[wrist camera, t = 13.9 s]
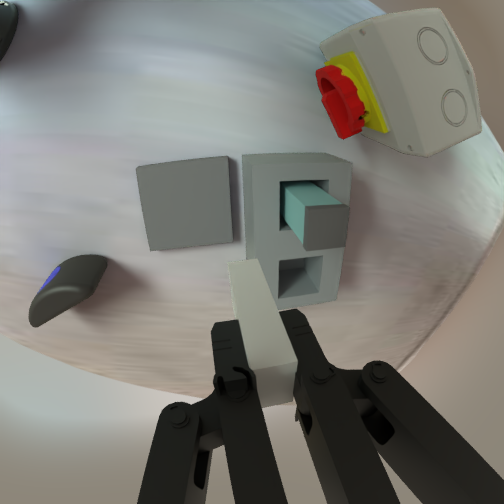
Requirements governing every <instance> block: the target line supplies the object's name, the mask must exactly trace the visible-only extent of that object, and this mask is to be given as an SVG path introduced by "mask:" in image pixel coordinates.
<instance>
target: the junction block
mask: <svg viewBox="0 0 504 504" xmlns="http://www.w3.org/2000/svg"><path fill="white" fill-rule="evenodd" d="M242 170H243V193H244V215H245V237H246V259H247V260H249V259H256V258H257V259H258V261H259V264H260V266H261V269H262V271H263V274H264V276H265V279H266V282H267V284H268V287H269V289H270V292H271V294H272V297H273V299H274V302H275V304H276V307H277V309H278V310H282V309H288V308H295V307H301V306H307V305H313V304H319V303H324V302H330V301H335V300H336V299H337V293H338V287H339V281H340V275H341V268H342V261H343V254H344V247H341V248H332V249H324V250H315V251H306V250H305V249H304V248H303V244H302V242H301V241H300V240H299V238H298V237H297V236H296V234H295V233H294V232H293V230H292V229H291V228H290V226H289V225H288V224H287V222H286V221H285V220H284V218H283V217H282V216H281V214H280V213H279V210H280V181H296V180H309V181H310V182H312V183H313V184H315V185H316V186H318V187H319V188H321V189H322V190H324V191H325V192H326V193H328V194H329V195H331V196H332V197H334V198H335V199H336V200H338V201H339V202H341V203H342V204H346V205H347V206H349V203H350V191H351V178H352V163H351V162H348V161H346V160H343V159H341V158H338V157H335V156H333V155H330V154H327V153H270V154H249V155H242Z"/></svg>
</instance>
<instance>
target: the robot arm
mask: <svg viewBox="0 0 504 504" xmlns="http://www.w3.org/2000/svg"><path fill="white" fill-rule="evenodd" d="M17 21H18V11H17V8H16V6H15V5H14V4H12V3H9V2H7V1H0V60H1V59H2V57H3V56H4V54H5V52H6V50H7V49H8V47H9V45H10V43H11V40H12V38H13V36H14V33H15V30H16V26H17ZM227 263H228V271H229V280H230V288H231V296H232V304H233V309H234V314H235V319H236V320H230V321H223V322H216V323H215V324H214V326H213V328H212V330H211V338H212V348H213V356H214V365H215V373H216V374H215V375H214V379H213V385H214V388H215V389H214V391H213V392H212V394H211V395H209V396H208V397H207V398H205V399H203V400H201V401H199V402H197V403H194V404H192V405H190V404H188V403H185V402H175V403H172V404H169V405H168V406H166V407H165V408H164V409H163V410H162V412H161V414H160V416H159V420H158V423H157V426H156V430H155V434H154V437H153V441H152V445H151V449H150V453H149V456H148V461H147V464H146V468H145V472H144V476H143V481H142V485H141V489H140V493H139V497H138V502H137V504H205V501H206V494H207V487H208V479H209V473H210V466H211V459H212V458H211V457H212V451H213V449H215V448H217V447H220V446H222V445H224V446H225V451H226V457H227V463H228V469H229V474H230V480H231V485H232V490H233V495H234V499H235V504H288V502H287V499H286V496H285V492H284V488H283V485H282V482H281V478H280V475H279V471H278V467H277V464H276V460H275V456H274V453H273V449H272V445H271V441H270V438H269V434H268V430H267V427H266V423H265V419H264V415H263V411H262V408H264V407H269V406H274V405H279V404H283V403H288V402H292V401H293V397H294V398H295V401H296V404H297V408H296V414H295V421H298V419H299V422H300V425H301V428H302V431H303V434H304V437H305V439H306V442H307V445H308V448H309V451H310V454H311V457H312V460H313V463H314V466H315V469H316V472H317V475H318V478H319V481H320V484H321V486H322V489H323V492H324V495H325V498H326V501H327V504H400V502H399V499H398V497H397V495H396V492H395V490H394V488H393V486H392V483H391V481H390V479H389V477H388V475H387V472H386V470H385V468H384V466H383V463H382V461H381V459H380V457H379V455H378V453H379V454H380V455H381V456H382V457H383V459H384V460H385V461H386V462H387V463H388V465H389V466H390V467H391V468H392V469H393V470H394V472H395V473H396V474H397V475H398V476H399V477H400V479H401V480H402V481H403V482H404V483H405V484H406V485H407V486H408V488H409V489H410V490H411V491H412V492H413V493H414V495H415V496H416V497H417V498H418V499H419V500H420V501H421V502H422V503H423V504H504V480H503V479H502V478H501V477H500V476H499V475H498V474H497V472H495V470H494V469H493V468H492V467H491V466H490V465H489V464H488V463H487V462H486V461H485V460H484V459H483V458H482V457H481V456H480V455H479V454H478V453H477V451H476V450H475V449H474V448H473V447H472V446H471V445H470V444H469V443H468V442H467V441H466V440H465V439H464V438H463V437H462V436H461V435H460V434H459V433H458V432H457V431H456V430H455V429H454V428H453V427H452V426H451V425H450V424H449V423H448V422H447V421H446V420H445V419H444V418H443V417H442V416H441V415H440V414H439V413H438V412H437V411H436V410H435V409H434V408H433V407H432V406H431V405H430V404H429V403H428V402H427V401H426V400H425V399H424V398H423V397H422V396H421V395H420V394H419V393H418V392H417V391H416V390H415V389H414V388H413V387H412V386H411V385H410V384H409V383H408V382H407V381H406V380H405V379H404V378H403V377H402V376H401V375H400V374H399V373H398V372H397V371H396V370H395V369H394V368H393V367H392V366H391V365H389V364H388V363H386V362H383V361H372V362H369V363H367V364H366V365H365V366H364V367H363V370H345V369H340V368H336V367H335V366H334V365H332V364H331V363H329V362H328V361H327V359H326V357H325V355H324V353H323V351H322V349H321V347H320V345H319V343H318V341H317V339H316V337H315V335H314V333H313V331H312V329H311V327H310V326H309V323H308V321H307V319H306V317H305V315H304V314H303V313H301V312H300V311H299V310H298V309H291V310H286V311H280V312H278V309H277V307H276V304H275V302H274V299H273V297H272V294H271V292H270V289H269V287H268V284H267V282H266V279H265V276H264V274H263V271H262V269H261V266H260V264H259V261H258V259H257V258H256V259H249V260H242V261H234V262H227Z"/></svg>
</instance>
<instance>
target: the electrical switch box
mask: <svg viewBox="0 0 504 504" xmlns="http://www.w3.org/2000/svg"><path fill="white" fill-rule="evenodd" d="M320 49H321V51H322V53H323V54H324V56H325V58H326V60H327V62H324V64H325V67H323V68H320V69H318V70H316V78H317V81H318V83H317V84H318V87H319V89H320V92H321V94H322V96H323V97H322V100H321V101H322V103H323V105H324V107H325V109H326V111H327V113H328V115H329V117H330V119H331V121H332V124H333V126H334V128H335V130H336V132H337V135H338V137H339V138H341V139H343V140H344V139H346V138H348V137H350V136H352V135H355V134H357V133H359V132H361V134H362V135H363V136H365V137H368V138H370V139H372V140H375V141H377V142H379V143H382V144H384V145H386V146H388V147H390V148H393V149H395V150H397V151H399V152H401V153H403V154H409V155H416V156H422V157H429V156H432V155H434V154H436V153H438V152H441V151H443V150H445V149H447V148H449V147H451V146H453V145H456V144H458V143H460V142H462V141H464V140H466V139H468V138H470V137H473V136H475V135H477V134H479V133H481V131H482V126H481V114H480V105H479V97H478V90H477V84H476V78H475V73H474V70H473V68H472V66H471V63H470V61H469V59H468V57H467V55H466V53H465V51H464V49H463V47H462V45H461V43H460V42H459V39H458V38H457V36H456V34H455V32H454V30H453V29H452V27H451V25H450V24H449V22H448V21H447V19H446V17H445V16H444V14H443V12H442V11H441V10H440V9H439V8H425V9H416V10H409V11H402V12H396V13H391V14H386V15H381V16H376V17H372V18H369V19H367V20H364V21H361V22H359V23H356V24H354V25H352V26H349V27H348V28H346V29H344V30H342V31H340V32H338V33H337V34H335V35H333V36H331V37H330V38H328V39H326V40H324V41H323V42H321V43H320Z"/></svg>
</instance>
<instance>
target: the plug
mask: <svg viewBox="0 0 504 504" xmlns="http://www.w3.org/2000/svg"><path fill="white" fill-rule="evenodd" d="M349 210H350V207H349V206H347V205H346V204H342V203H341V202H339V201H338V200H336V199H335V198H334V197H332V196H331V195H329V194H328V193H326V192H325V191H324V190H322V189H321V188H319V187H318V186H316V185H315V184H313V183H312V182H310V181H309V180H296V181H280V210H279V213H280V214H281V216H282V217H283V218H284V220H285V221H286V222H287V224H288V225H289V226H290V228H291V229H292V230H293V232H294V233H295V234H296V236H297V237H298V238H299V240H300V241H301V242H302V244H303V248H304V249H305V250H306V251H315V250H324V249H332V248H341V247H345V244H346V236H347V228H348V219H349Z"/></svg>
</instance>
